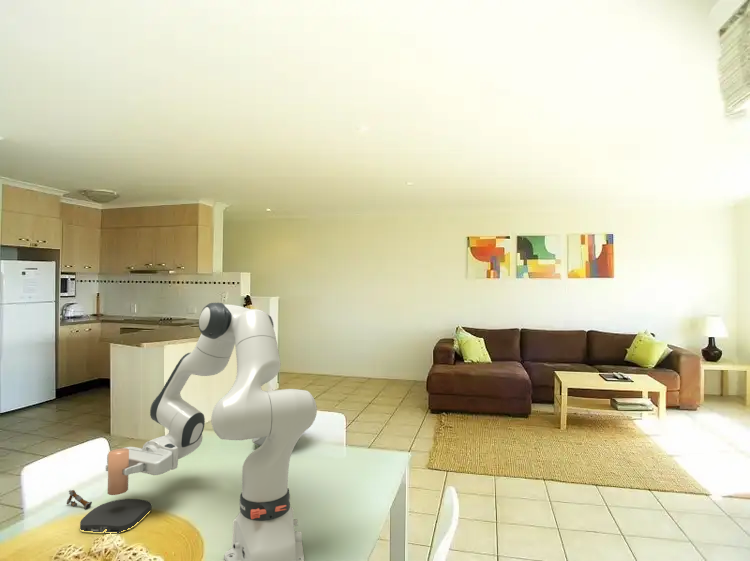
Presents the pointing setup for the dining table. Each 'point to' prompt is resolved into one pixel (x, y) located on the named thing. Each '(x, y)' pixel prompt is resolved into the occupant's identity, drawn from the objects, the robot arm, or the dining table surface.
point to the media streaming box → (115, 515)
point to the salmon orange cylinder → (117, 471)
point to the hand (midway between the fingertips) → (115, 470)
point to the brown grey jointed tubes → (78, 498)
